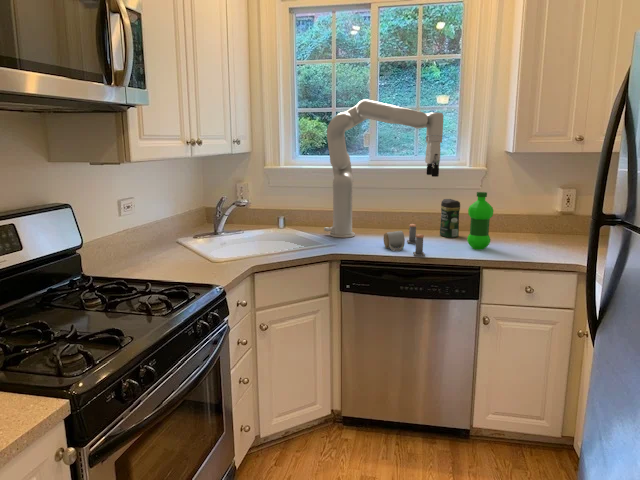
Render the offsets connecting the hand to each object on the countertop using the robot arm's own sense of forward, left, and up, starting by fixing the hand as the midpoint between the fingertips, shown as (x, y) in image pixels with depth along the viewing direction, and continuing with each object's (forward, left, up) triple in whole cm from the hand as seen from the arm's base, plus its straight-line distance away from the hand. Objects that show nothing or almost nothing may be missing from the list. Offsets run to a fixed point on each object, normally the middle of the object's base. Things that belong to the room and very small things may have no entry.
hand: (432, 175), depth 239 cm
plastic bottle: (+18, -23, -31) cm, 42 cm away
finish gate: (-10, -25, -30) cm, 41 cm away
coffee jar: (+10, +3, -31) cm, 32 cm away
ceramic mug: (-19, -26, -31) cm, 44 cm away
